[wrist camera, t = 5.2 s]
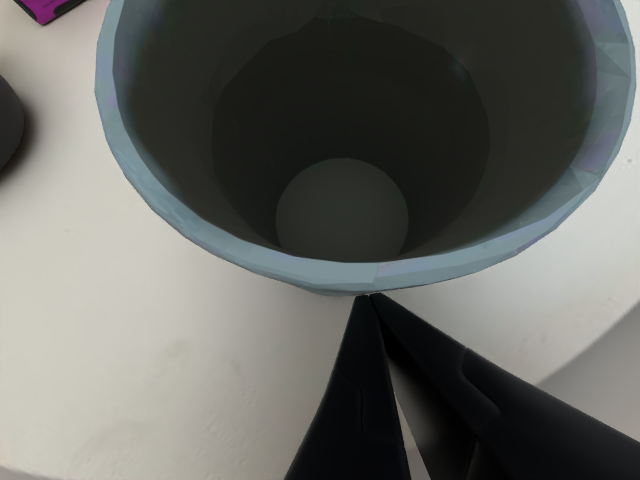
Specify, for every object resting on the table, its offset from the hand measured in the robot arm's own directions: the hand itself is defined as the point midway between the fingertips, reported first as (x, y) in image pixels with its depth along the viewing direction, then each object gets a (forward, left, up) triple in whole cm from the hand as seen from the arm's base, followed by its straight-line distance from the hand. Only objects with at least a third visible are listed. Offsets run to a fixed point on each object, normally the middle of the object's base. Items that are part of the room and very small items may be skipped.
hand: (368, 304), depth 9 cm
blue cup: (+2, -5, -7) cm, 9 cm away
